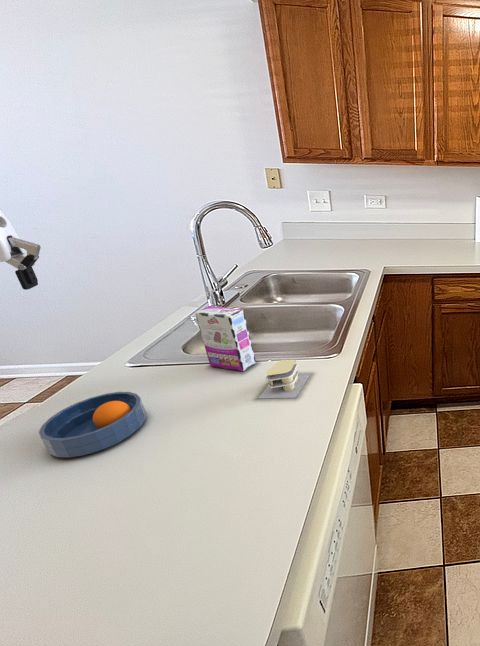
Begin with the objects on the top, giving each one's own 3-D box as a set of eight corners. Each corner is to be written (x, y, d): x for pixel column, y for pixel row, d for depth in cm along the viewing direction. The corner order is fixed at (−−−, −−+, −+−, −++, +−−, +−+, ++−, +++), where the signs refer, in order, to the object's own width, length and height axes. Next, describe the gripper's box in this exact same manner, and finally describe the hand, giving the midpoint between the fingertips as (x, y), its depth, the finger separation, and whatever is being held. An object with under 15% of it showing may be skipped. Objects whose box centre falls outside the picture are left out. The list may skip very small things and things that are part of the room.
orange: (78, 425, 79) (102, 406, 79) (94, 407, 85) (118, 390, 85) (106, 441, 82) (130, 423, 82) (121, 423, 87) (143, 406, 88)
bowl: (29, 468, 75) (18, 447, 73) (78, 417, 89) (69, 398, 87) (126, 450, 79) (118, 430, 77) (159, 404, 93) (152, 386, 91)
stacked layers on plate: (276, 375, 104) (272, 357, 102) (310, 374, 104) (307, 356, 102) (257, 398, 95) (253, 379, 93) (295, 397, 95) (291, 378, 93)
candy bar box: (257, 362, 110) (244, 308, 104) (243, 372, 105) (229, 316, 99) (224, 357, 112) (209, 304, 106) (209, 367, 108) (193, 312, 102)
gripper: (32, 197, 77) (66, 279, 84) (-88, 201, 72) (-41, 288, 79) (2, 202, 71) (42, 291, 77) (-132, 207, 66) (-77, 302, 72)
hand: (0, 289), depth 78 cm, fingers open, 9 cm apart
